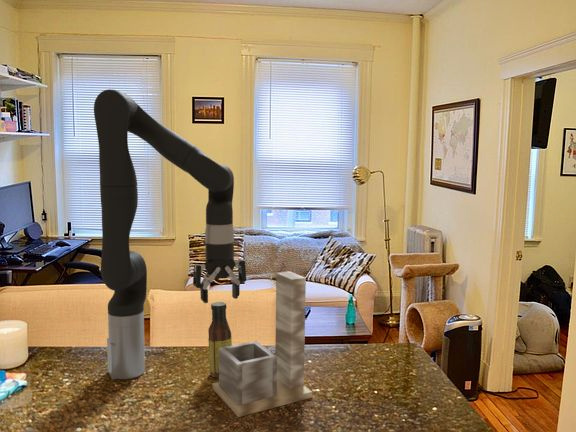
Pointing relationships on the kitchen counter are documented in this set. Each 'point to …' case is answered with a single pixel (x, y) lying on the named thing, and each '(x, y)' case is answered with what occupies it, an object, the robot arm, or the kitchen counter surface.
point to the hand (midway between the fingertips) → (220, 300)
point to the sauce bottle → (218, 336)
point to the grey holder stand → (269, 358)
